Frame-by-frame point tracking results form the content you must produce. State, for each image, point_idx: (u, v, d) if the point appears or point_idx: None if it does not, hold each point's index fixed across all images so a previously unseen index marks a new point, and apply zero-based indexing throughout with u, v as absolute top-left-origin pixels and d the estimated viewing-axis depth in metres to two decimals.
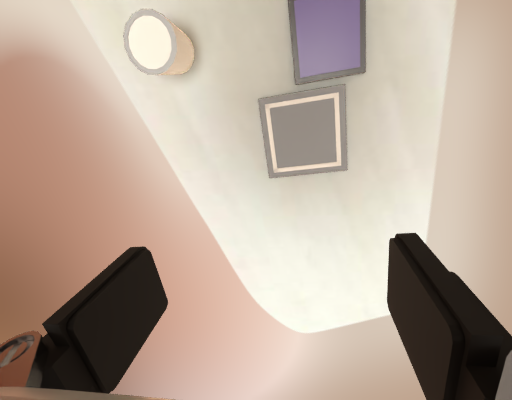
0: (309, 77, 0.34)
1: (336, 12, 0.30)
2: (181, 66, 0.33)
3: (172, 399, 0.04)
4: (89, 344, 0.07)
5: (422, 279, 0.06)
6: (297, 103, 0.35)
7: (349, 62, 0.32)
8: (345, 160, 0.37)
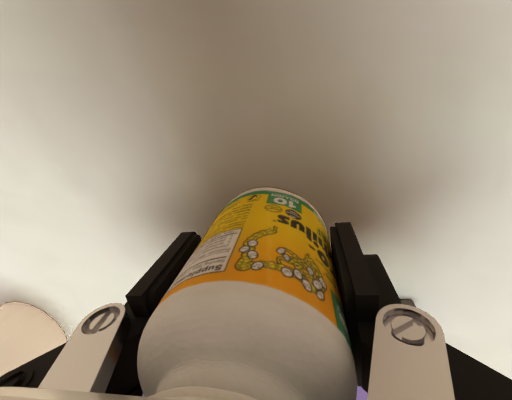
0: None
1: None
2: None
3: (172, 399, 0.04)
4: None
5: (340, 258, 0.07)
6: None
7: None
8: None
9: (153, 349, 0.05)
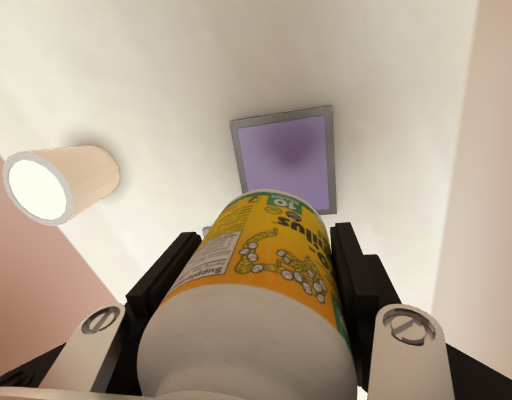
0: None
1: (294, 146, 0.22)
2: (95, 201, 0.25)
3: (172, 399, 0.04)
4: None
5: (340, 258, 0.07)
6: None
7: (314, 203, 0.24)
8: None
9: (153, 352, 0.05)
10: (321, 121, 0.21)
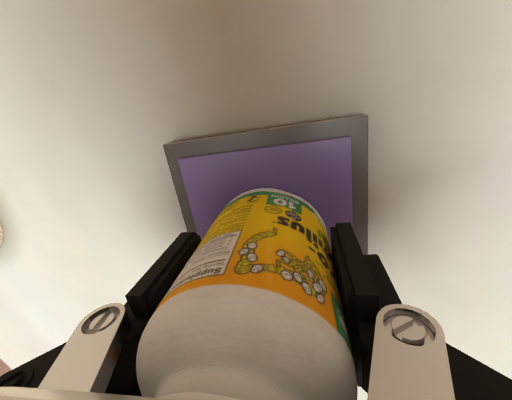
0: None
1: None
2: None
3: (172, 399, 0.04)
4: None
5: (340, 258, 0.07)
6: None
7: None
8: None
9: (152, 353, 0.05)
10: (344, 148, 0.10)
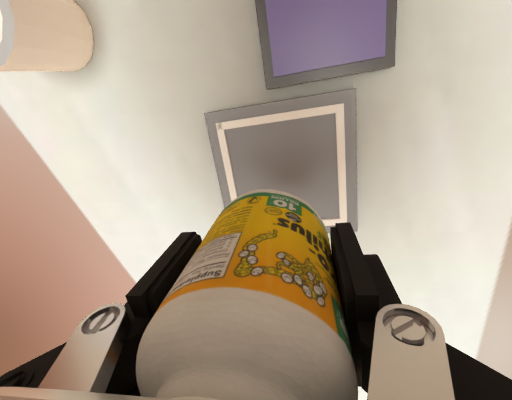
0: (290, 76, 0.18)
1: None
2: (55, 56, 0.18)
3: (172, 399, 0.04)
4: None
5: (340, 258, 0.07)
6: (271, 122, 0.20)
7: (364, 48, 0.17)
8: (354, 216, 0.22)
9: (152, 357, 0.05)
10: None
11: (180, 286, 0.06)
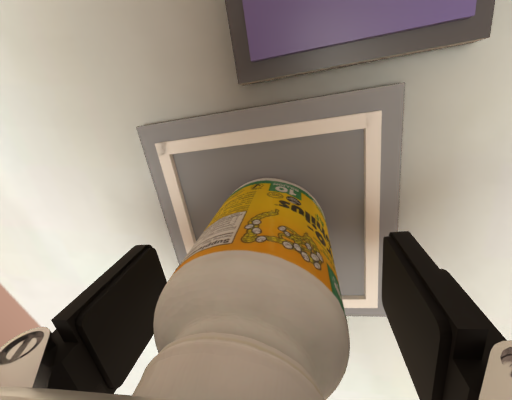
0: (282, 60, 0.10)
1: None
2: None
3: (172, 399, 0.04)
4: (97, 340, 0.07)
5: (413, 276, 0.06)
6: (249, 142, 0.11)
7: None
8: None
9: (169, 309, 0.06)
10: None
11: (193, 253, 0.07)
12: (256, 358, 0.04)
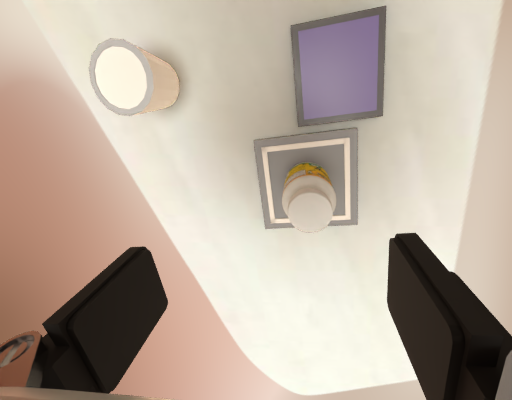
0: (315, 119, 0.28)
1: (349, 46, 0.25)
2: (162, 103, 0.28)
3: (172, 399, 0.04)
4: (89, 344, 0.07)
5: (422, 279, 0.06)
6: (300, 148, 0.30)
7: (363, 104, 0.27)
8: (355, 213, 0.32)
9: (291, 189, 0.24)
10: (376, 20, 0.24)
11: (293, 178, 0.25)
12: (317, 189, 0.22)
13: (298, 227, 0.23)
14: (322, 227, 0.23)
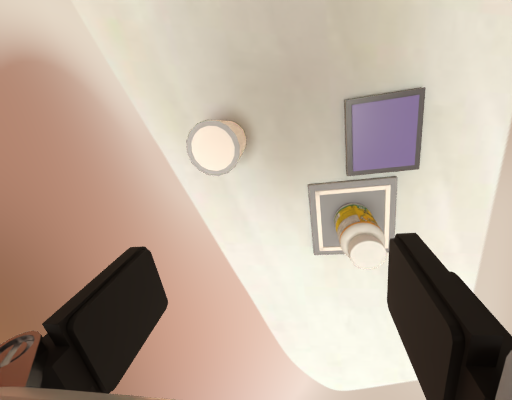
0: (362, 171, 0.34)
1: (394, 117, 0.31)
2: None
3: (172, 399, 0.04)
4: (89, 344, 0.07)
5: (422, 279, 0.06)
6: (348, 192, 0.36)
7: (403, 160, 0.33)
8: None
9: (350, 234, 0.30)
10: (416, 98, 0.30)
11: (350, 224, 0.31)
12: (373, 237, 0.29)
13: (358, 265, 0.29)
14: (377, 265, 0.29)
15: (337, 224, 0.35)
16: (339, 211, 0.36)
